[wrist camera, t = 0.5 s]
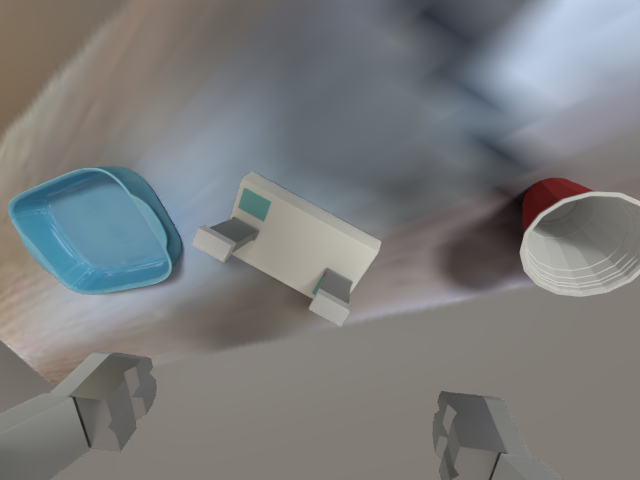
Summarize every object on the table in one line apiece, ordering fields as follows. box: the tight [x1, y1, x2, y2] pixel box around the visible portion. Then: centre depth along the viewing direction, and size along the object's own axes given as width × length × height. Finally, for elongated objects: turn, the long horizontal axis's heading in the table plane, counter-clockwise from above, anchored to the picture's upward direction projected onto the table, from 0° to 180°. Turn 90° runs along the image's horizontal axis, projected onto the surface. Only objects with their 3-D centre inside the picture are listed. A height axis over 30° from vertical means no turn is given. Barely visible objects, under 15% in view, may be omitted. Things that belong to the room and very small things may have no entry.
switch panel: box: [229, 171, 381, 299], centre depth 53 cm, size 14×22×3 cm, turn 66°
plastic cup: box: [520, 178, 640, 297], centre depth 36 cm, size 11×11×12 cm
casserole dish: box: [8, 167, 181, 295], centre depth 62 cm, size 37×22×7 cm, turn 111°
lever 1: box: [192, 216, 260, 263], centre depth 46 cm, size 2×4×12 cm, turn 66°
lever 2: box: [309, 268, 353, 327], centre depth 46 cm, size 2×4×12 cm, turn 66°
